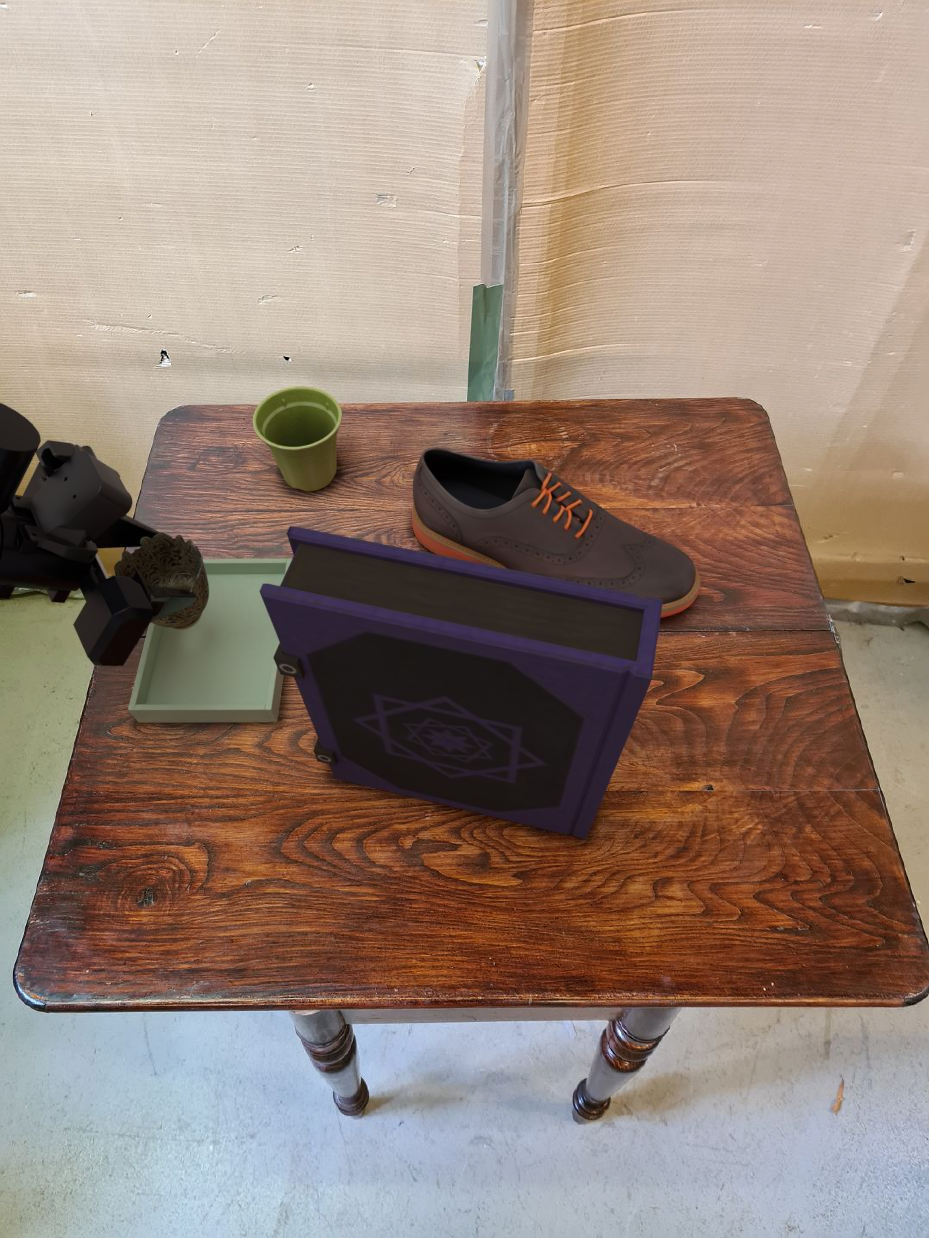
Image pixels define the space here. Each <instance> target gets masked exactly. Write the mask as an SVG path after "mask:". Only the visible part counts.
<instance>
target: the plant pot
mask: <svg viewBox="0 0 929 1238" xmlns="http://www.w3.org/2000/svg"><path fill="white" fill-rule="evenodd" d="M342 419H343V412H342V408H341V406H340V404H339V402H338V401H337V399H336V398H335V397H334V396H333V395H331V394H330V393H328V392H326V391H324V390H323V389H320V388H317V387H314V386H304V385H302V386H291V387H285V388H283V389H282V388H281V389H279V390H276V391H275V392H272V393H271V394H269V395H268V396H266V397H265V398H263V400H261V402H259V404H258V405H257V407H256V409H255V410H254V413H253V416H252V426H253V430H254V432H255V434H256V435H257V437H258V438H259V439H260V440H261V441H262V442H263V443H264V444H265V445H266V446H267V447H268V448H269V450H270V452H271V454H272V456H273V458H274V461H275V463H276V464H277V467H278V468H279V471H280V473H281V475H282V477H283V479H284V481H285V483H286V484H287V485H288V486H289V487H290V488H292V489H297V490H301V491H305V492H314V491H319V490H321V489H323V488H326V487H327V486H328V485H330V484H331V483H332V481H333V479H334V478H335V475H337V470H338V469H337V464H338V462H337V461H338V459H337V436H338V432H339V429H340V427H341V425H342Z"/></svg>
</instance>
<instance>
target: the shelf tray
mask: <svg viewBox="0 0 929 1238" xmlns="http://www.w3.org/2000/svg"><path fill="white" fill-rule="evenodd" d="M292 559H293V557H288V558H285V557H284V558H278V557H277V558H276V557H275V558H274V557H273V558H262V557H261V558H203V563H204V567H205V570H206V574H207V579H208V584H209V598H208V602H207V605H206V607H205V609H204V611H203V612H202V616H201V618H200V620H199V621H198V623H197V624H195V625H194V626H193V627H191V628H188V629H184V630H177V629H173V628H171V627H162V626H159V625H156V624H153V623H150V624H149V626H148V627H147V629H146V630H147V631H146V634H145V639H144V642H143V647H142V651H141V654H140V659H139V663H138V667H137V671H136V676H135V679H134V684H133V686H132V691H131V695H130V699H129V703H128V707H127V711H128V712H129V713H130V715H131V716H132V717H133V718H134V720H136V722H137V723H139V724H142V723H143V724H147V723H149V724H151V723H153V724H154V723H158V724H159V723H160V724H161V723H162V724H163V723H165V724H166V723H168V724H169V723H171V724H172V723H176V724H178V723H179V724H180V723H181V724H182V723H185V724H186V723H187V724H189V723H191V724H192V723H278V721H279V714H280V706H281V699H282V691H283V686H284V685H283V684H284V677H285V675H281V674H280V672H279V670H278V667H277V665H276V663H275V660H274V658H273V657H274V654H275V652H276V650H277V648H278V645H279V643H280V642H279V639H278V637H277V634H276V632H275V629H274V627H273V624H272V622H271V619H270V617H269V614H268V612H267V609H266V607H265V604H264V602H263V599H262V597H261V595H260V592H259V591H260V589H261V587H262V585H263V584H267V583H268V584H272V585H277V586H280V585H281V583H282V580H283V578H284V576H285V574H286V572H287V569H288V567H289V565H290V563H291V561H292Z"/></svg>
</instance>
